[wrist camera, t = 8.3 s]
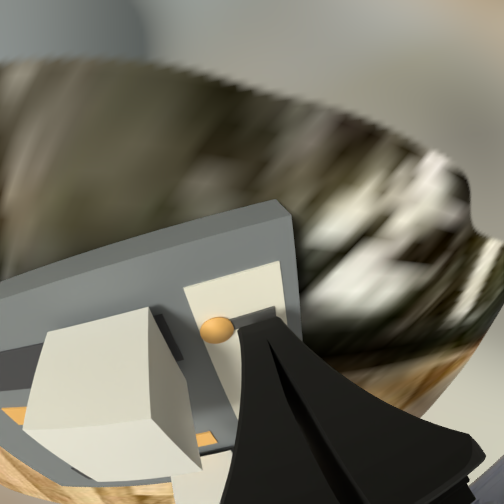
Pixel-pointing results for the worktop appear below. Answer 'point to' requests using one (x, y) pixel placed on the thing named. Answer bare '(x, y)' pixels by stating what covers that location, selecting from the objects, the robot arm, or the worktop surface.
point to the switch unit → (156, 316)
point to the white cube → (203, 481)
